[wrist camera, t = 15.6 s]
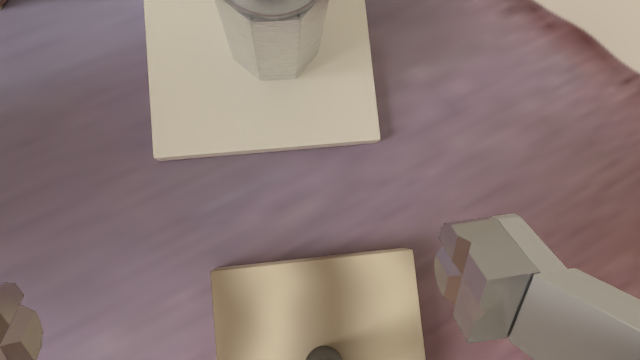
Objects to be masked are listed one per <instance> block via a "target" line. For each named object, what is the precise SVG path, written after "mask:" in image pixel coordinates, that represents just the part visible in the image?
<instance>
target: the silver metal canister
mask: <svg viewBox="0 0 640 360" xmlns="http://www.w3.org/2000/svg"><path fill="white" fill-rule="evenodd" d="M328 2H329V0H215V3H216V6H217V9H218V12H219V16H220V19H221V22H222V25H223V28H224V31H225V35H226V38H227V41H228V44H229V47H230V50H231V54H232V57H233V59H234V60H235V61H237V62H238V63H239V64H240V65H241V66H243V67H244V68H245V69H246V70H247V71H249V72H250V73H251V74H252V75H254V76H255V77H256V78H257V79H258V80H260V81H271V80H286V79H296V78H297V77H298V76H299V75H300V74H301V73H302V71H303V70H304V69H305V68H306V67H307V66H308V64H309V63H310V62H311V61H312V60H313V59H314V58H315V56H316V55H317V54H318V52H319V47H320V42H321V37H322V32H323V27H324V22H325V17H326V12H327V7H328Z"/></svg>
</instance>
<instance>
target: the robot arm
mask: <svg viewBox="0 0 640 360" xmlns="http://www.w3.org/2000/svg"><path fill="white" fill-rule="evenodd" d="M439 239H440V241H441V243H442V244H443V246H442V247H441V249H440V250H439V251H438V252H437V253H436V254H435V261H434V270H435V278H436V281H437V284H438V287H439V289H440V291H441V293H442V295H443V297H444V298H445V299H447V300H448V301H450V302H451V303H453V304H454V305H455V308H454V313H453V317H454V318H455V320H456V322H457V324H458V326H459V328H460V330H461V332H462V334H463V335H464V337H465V339H466V341H467V343H475V342H481V341H488V340H495V339H502V338H509V339H508V340H509V341H511V342H512V343H513V344H514V345H516V346H517V347H518V348H519V349H521V350H522V351H523V352H525V353H526V354H527V355H528V356H530V357H531V358H532V359H533V360H640V299H638V298H636V297H634V296H632V295H630V294H628V293H625V292H623V291H621V290H619V289H617V288H615V287H613V286H611V285H609V284H607V283H605V282H603V281H601V280H599V279H597V278H594V277H592V276H590V275H588V274H586V273H584V272H582V271H580V270H578V269H576V268H571V269H567V268H566V267H565V266H564V264H563V263H562V262H561V261H560V260H559V259H558V258H557V257H556V256H555V254H554V253H553V252H552V251H551V250H550V249H549V248H548V247H547V246H546V244H545V243H544V242H543V241H542V240H541V239H540V238H539V237H538V236H537V234H536V233H535V232H534V231H533V230H532V229H531V228H530V227H529V226H528V224H527V223H526V222H525V221H524V220H523V219H522V218H521V217H520V216H519V215H517V214H515V213H511V214H504V215H497V216H491V217H485V218H478V219H471V220H464V221H457V222H450V223H444V224H443V226H442V227H441V229H440V234H439ZM23 297H24V294H23V293H22V291H21V290H20V289H19V287H18V286H17V285H16V283H8V282H4V283H0V360H36V359H37V357H38V354H39V352H40V349H41V345H42V334H43V330H42V326H41V322H40V319H39V318H38V316H37V314H36V313H35V311H33V310H31V309H29V308H27V307H25V306H23V305H20V304H21V302H22V300H23Z"/></svg>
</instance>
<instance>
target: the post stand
mask: <svg viewBox="0 0 640 360" xmlns="http://www.w3.org/2000/svg"><path fill="white" fill-rule="evenodd" d="M210 273H211V287H212V300H213V314H214V327H215V341H216V355H217V360H426V359H425V350H424V341H423V333H422V324H421V316H420V307H419V299H418V290H417V282H416V273H415V265H414V256H413V250H412V249H407V248H395V249H386V250H377V251H367V252H358V253H349V254H340V255H330V256H321V257H312V258H302V259H293V260H284V261H274V262H265V263H256V264H247V265H237V266H228V267H219V268H215V269H214V270H212V271H211V272H210Z"/></svg>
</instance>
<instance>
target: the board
mask: <svg viewBox="0 0 640 360" xmlns="http://www.w3.org/2000/svg"><path fill="white" fill-rule="evenodd" d="M144 14H145V30H146V46H147V62H148V78H149V94H150V110H151V125H152V141H153V157H154V159H156V160H158V161H166V160H178V159H190V158H202V157H214V156H226V155H238V154H250V153H262V152H274V151H287V150H299V149H311V148H323V147H335V146H347V145H359V144H371V143H377V142H378V141H379V140H381V139H380V130H379V121H378V112H377V104H376V95H375V86H374V77H373V68H372V59H371V50H370V42H369V33H368V24H367V15H366V6H365V0H329V2H328V7H327V12H326V17H325V22H324V27H323V32H322V37H321V42H320V47H319V52H318V54H317V55H316V56H315V58H314V59H313V60H312V61H311V62H310V63H309V64H308V66H307V67H306V68H305V69H304V70H303V71H302V73H301V74H300V75H299V76H298V77H297V78H296V79H286V80H271V81H260V80H258V79H257V78H256V77H255V76H254V75H252V74H251V73H250V72H249V71H247V70H246V69H245V68H244V67H243V66H241V65H240V64H239V63H238V62H237V61H235V60H234V59H233V57H232V54H231V50H230V47H229V44H228V41H227V38H226V35H225V31H224V28H223V25H222V22H221V19H220V16H219V12H218V9H217V6H216V3H215V0H144Z"/></svg>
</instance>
